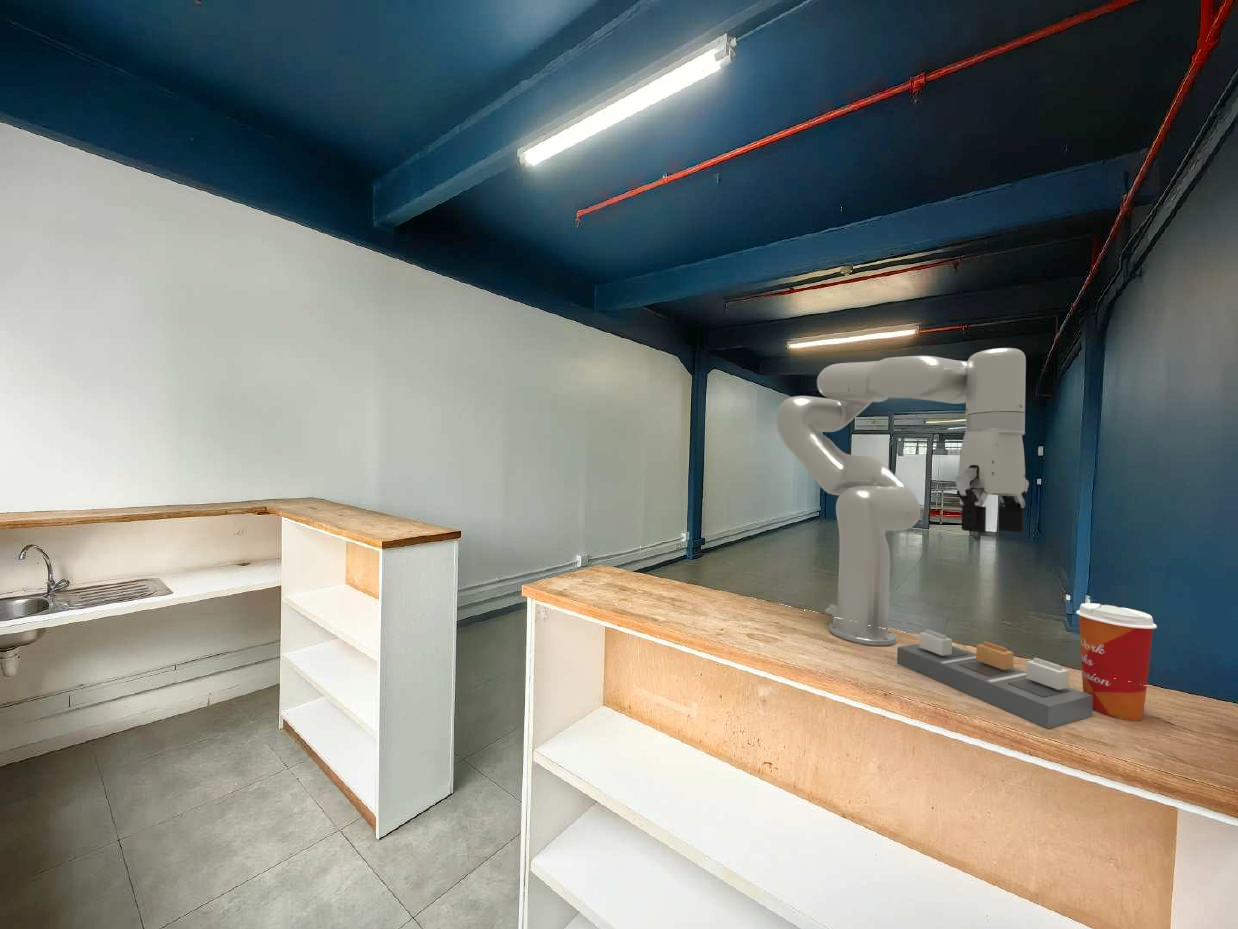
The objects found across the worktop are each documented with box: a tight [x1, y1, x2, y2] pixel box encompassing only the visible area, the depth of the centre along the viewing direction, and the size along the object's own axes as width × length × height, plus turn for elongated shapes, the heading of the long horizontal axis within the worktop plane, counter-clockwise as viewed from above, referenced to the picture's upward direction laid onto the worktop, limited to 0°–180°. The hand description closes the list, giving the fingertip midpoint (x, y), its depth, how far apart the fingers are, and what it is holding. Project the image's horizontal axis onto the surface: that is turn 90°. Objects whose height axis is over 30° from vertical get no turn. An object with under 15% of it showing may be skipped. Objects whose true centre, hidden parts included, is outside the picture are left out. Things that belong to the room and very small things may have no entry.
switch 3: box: [1025, 657, 1070, 690], centre depth 69 cm, size 4×2×3 cm, turn 22°
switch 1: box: [918, 629, 953, 656], centre depth 81 cm, size 4×2×3 cm, turn 22°
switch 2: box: [975, 641, 1015, 670], centre depth 76 cm, size 4×2×3 cm, turn 22°
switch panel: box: [896, 643, 1093, 730], centre depth 75 cm, size 22×11×3 cm, turn 22°
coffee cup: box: [1075, 602, 1158, 722], centre depth 69 cm, size 8×8×15 cm
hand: (992, 531), depth 75 cm, fingers open, 9 cm apart
